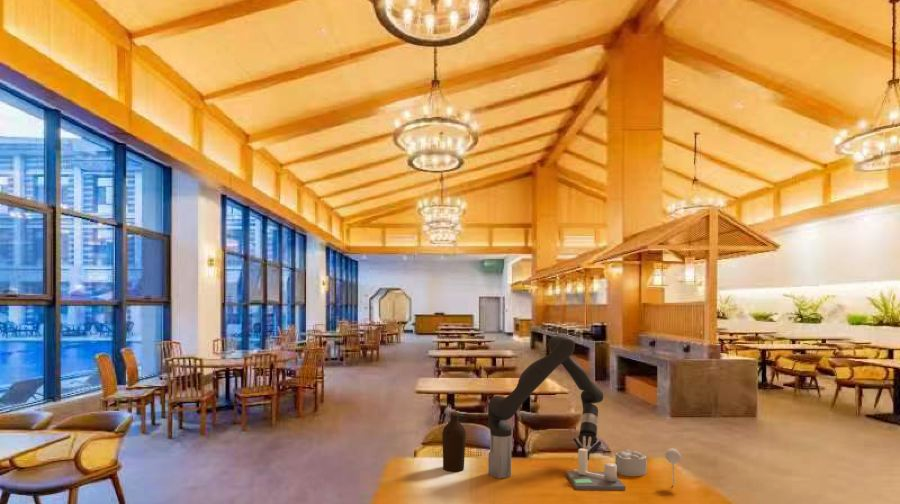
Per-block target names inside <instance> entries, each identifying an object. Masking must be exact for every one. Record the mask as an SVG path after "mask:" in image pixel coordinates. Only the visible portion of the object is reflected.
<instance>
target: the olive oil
mask: <svg viewBox="0 0 900 504" xmlns="http://www.w3.org/2000/svg"><path fill="white" fill-rule="evenodd" d="M441 435H442V438H441V439H442V469H443V470H444V471H446V472H450V473H458V472H462V471H464V470H465V453H466V441H467V440H466V439H467V433H466V428H465V427H464V425H463V424H462V423H461V422H460V421H459V412H458V411H455V410H453V411H450V421H448V422H447V423H446V425H445V426H444V427H443V429H442V433H441Z"/></svg>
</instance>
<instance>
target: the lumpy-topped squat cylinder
mask: <svg viewBox="0 0 900 504" xmlns="http://www.w3.org/2000/svg"><path fill="white" fill-rule="evenodd" d="M614 456H615V460H614V461H615V462H614V464H616V465H617V473H618V474H620V475H622V476H625V477H626V476H627V477H641V476H644V475H645V476H646V474H647V472H648V471H647V470H648V468H647V467H648V466H647V465H648V464H647V463H648V461H647V455H645V454H644V453H641V452H639V451H634V450H633V451H631V450H630V449H626V450H624V451H622V450H621V451H618V452H615V455H614Z"/></svg>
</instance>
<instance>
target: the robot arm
mask: <svg viewBox="0 0 900 504" xmlns="http://www.w3.org/2000/svg"><path fill="white" fill-rule="evenodd" d="M575 347H576V343H575V341H574V340H573V339H572V338H570V337H568V336H560V335H554V336H552V337H551V338H550V339H549V340H548V350H549V351H550V353H548V354H547V355H545V356H544V357H542V358H539V359H538V360H535V361H534V362H532V363H530V364H529V365H528V367H526V369H525V370H524V371H523V372H522V373H521V374H520V376H519V379H518V382H517V385H516V386H515V388H514V389H513V391H511V392H510V394H508V395H507V396H505V397H504V396H501V395H494V396H493V397H491V398H490V400H489V401H488V407H487V411H488V412H487V413H488V415H487V416H488V419H487V420H488V421H487V422H488V428H489V431H490V432H489V433H490V435H489V436H490V438H489V439H490V440H489V445H490V447H489V452H488V466H487V467H488V472H487V474H488V476H490V477H493V478H497V479H506V478H510V477H511V476H512V428H511V426H510V425H509V422H508V420H510V419H511V418H512V417H513V416H514V415H515V414H516V413H517V411H518V410H519V409H520V407H521V406H522V405H523V404H524V402H525V401H527V399H528V398H529V397H530V396H531V394H533V393H534V392H535V390H536V389H537V388H538V387H539V386H541V384H542V383H543V382H544V381H545V380H546V379H547V378H548V377H549V375H551V374H552V373H553V372H554V371H555V370H556V369H557V368H558V367H559V366H560V365H562V367H563V368H564V369H565V370H566V372H567V373H568V374H569V376H570V377H571V379H572V380H573V381H574V384H575V385H576V386H577V387H576V388H578V389H579V390H580V391H581V393H580V400H581V405H582V416H581V419H580V427H579V428H580V429H579V434H578V435H577V438H573V444H574V445H575V447H576V449H578V450H579V449H581V448H582V449H588V461H589V460H590V457H591V456H590V455H591V454H595V453H596V451H598V450H599V449H601V447H602V446H603V445H602V442H601V441H600V440H598V437H597V436H598V435H597V434H598V425H599V423H598V422H599V421H598V417H599V416H598V415H599V408H598V406H596V405H595V404H597V403H601V402H602V401H603V400H604V393H603V390H601V388H600V387H599V386H598V385H597V384H595V382H593V380H591V378H590V377H589V375H588V373H587V372H586V371H585V369H584V368H583V367H582V366H581V365H580V364H579V363H578V362H577V361H575V359H573V357H572V355H573V353H574V351H575V349H576V348H575ZM581 445H582V446H581Z"/></svg>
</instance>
